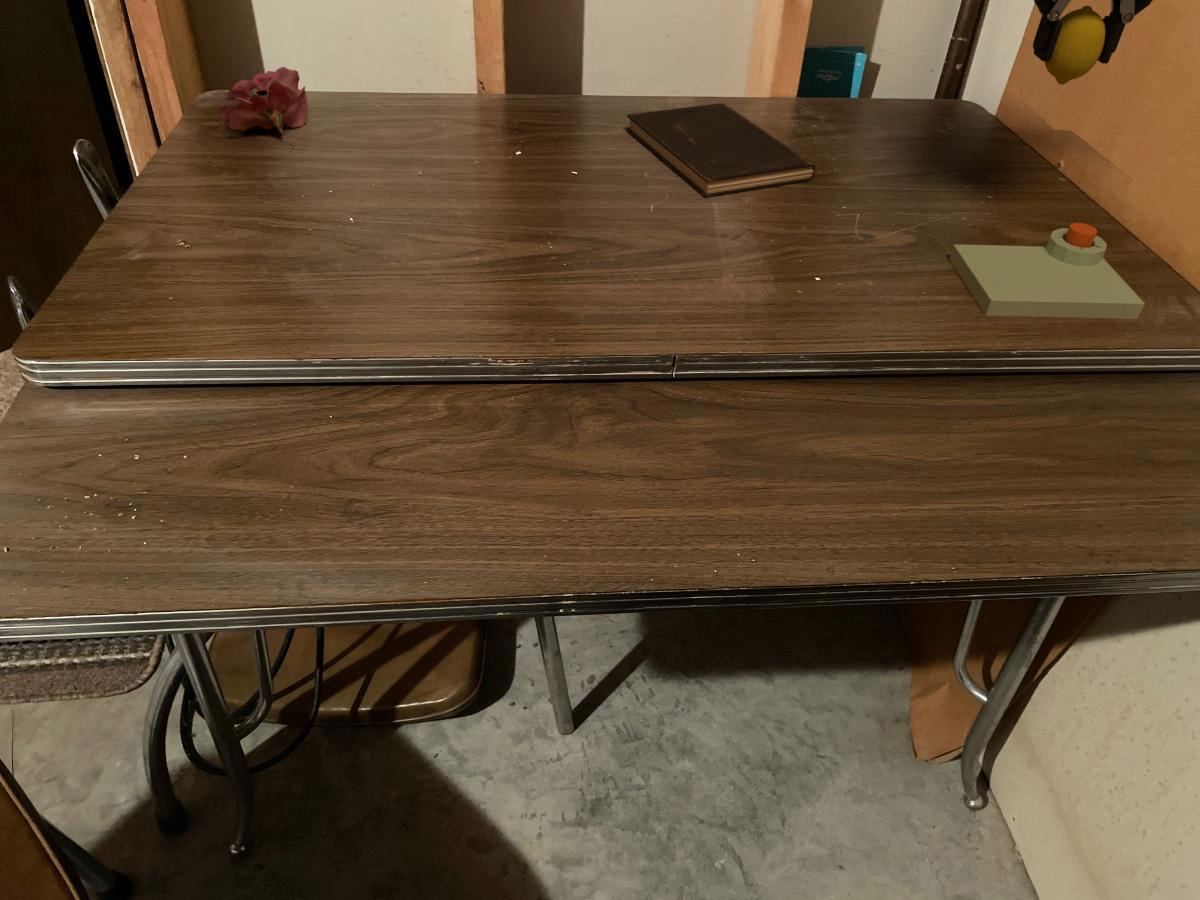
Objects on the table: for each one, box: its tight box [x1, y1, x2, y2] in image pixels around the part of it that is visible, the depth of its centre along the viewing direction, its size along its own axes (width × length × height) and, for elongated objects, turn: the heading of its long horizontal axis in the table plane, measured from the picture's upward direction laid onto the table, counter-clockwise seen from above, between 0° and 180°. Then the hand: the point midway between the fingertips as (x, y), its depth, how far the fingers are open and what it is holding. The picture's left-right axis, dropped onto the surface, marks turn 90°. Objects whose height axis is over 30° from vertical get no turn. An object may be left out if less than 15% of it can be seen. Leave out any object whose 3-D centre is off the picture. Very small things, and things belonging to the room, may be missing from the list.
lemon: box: [1043, 5, 1105, 85], centre depth 97 cm, size 6×6×8 cm
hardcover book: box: [625, 102, 816, 198], centre depth 122 cm, size 16×23×2 cm
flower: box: [218, 66, 309, 147], centre depth 120 cm, size 11×10×10 cm
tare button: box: [1064, 222, 1098, 248], centre depth 100 cm, size 3×3×2 cm
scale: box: [948, 227, 1145, 320], centre depth 98 cm, size 16×13×4 cm
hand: (1070, 56), depth 98 cm, fingers closed on lemon, 5 cm apart
